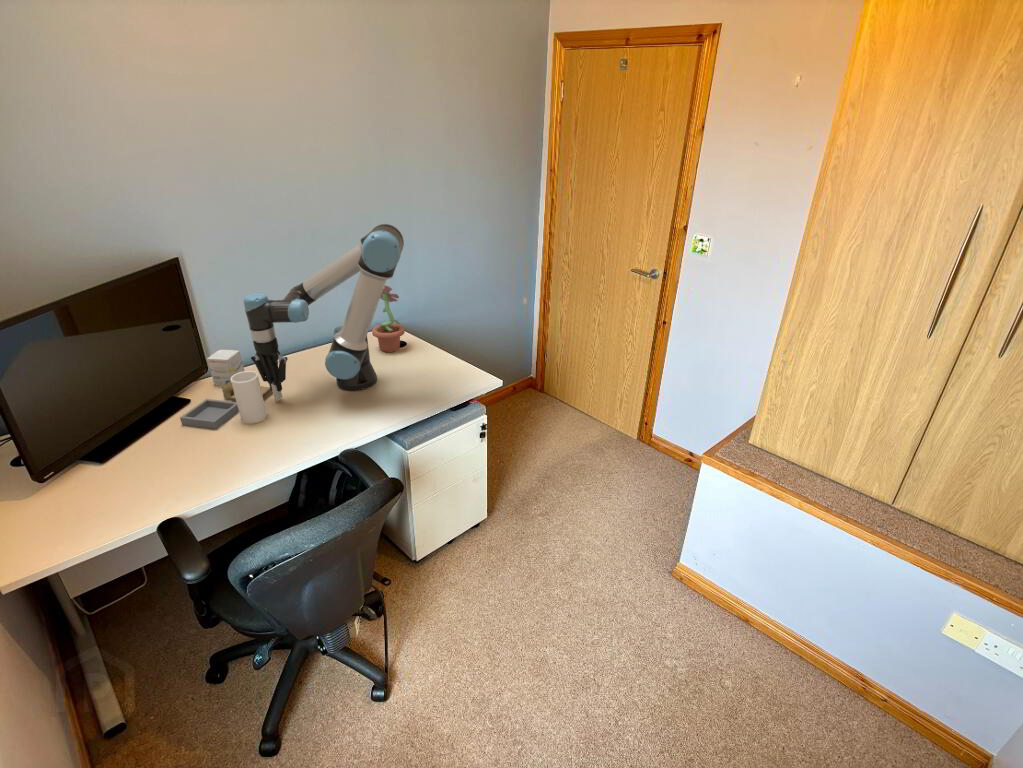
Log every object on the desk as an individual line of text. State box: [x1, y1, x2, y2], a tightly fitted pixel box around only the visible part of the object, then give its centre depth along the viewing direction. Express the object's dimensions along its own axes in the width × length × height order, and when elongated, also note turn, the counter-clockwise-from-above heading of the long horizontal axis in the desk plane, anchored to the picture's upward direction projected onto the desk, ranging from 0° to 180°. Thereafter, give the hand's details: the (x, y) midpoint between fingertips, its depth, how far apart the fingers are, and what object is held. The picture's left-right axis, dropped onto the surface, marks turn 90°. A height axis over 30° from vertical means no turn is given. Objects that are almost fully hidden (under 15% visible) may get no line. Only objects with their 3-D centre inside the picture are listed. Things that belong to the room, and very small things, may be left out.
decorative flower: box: [371, 284, 405, 353], centre depth 231 cm, size 15×14×30 cm
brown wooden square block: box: [230, 385, 273, 402], centre depth 198 cm, size 10×10×3 cm
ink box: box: [206, 349, 245, 387], centre depth 207 cm, size 8×8×12 cm
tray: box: [179, 398, 239, 431], centre depth 185 cm, size 13×13×3 cm
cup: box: [231, 370, 268, 425], centre depth 183 cm, size 8×8×16 cm
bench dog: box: [221, 381, 234, 401], centre depth 198 cm, size 3×6×5 cm, turn 169°
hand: (278, 398), depth 196 cm, fingers closed
